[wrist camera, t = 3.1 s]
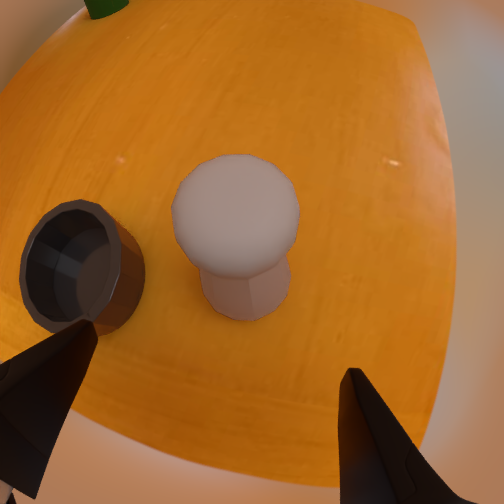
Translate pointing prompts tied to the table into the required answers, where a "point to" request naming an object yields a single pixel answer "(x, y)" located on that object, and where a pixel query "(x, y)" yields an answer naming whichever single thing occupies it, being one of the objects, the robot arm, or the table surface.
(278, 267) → the salt shaker
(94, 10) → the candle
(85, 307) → the holder
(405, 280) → the table surface
